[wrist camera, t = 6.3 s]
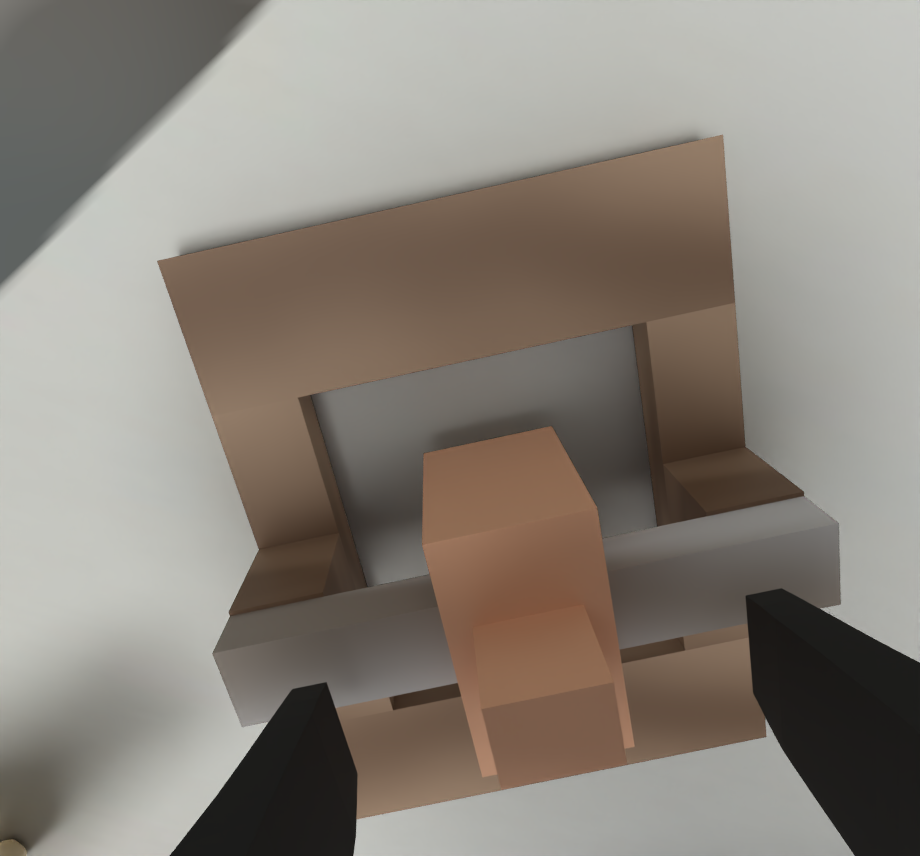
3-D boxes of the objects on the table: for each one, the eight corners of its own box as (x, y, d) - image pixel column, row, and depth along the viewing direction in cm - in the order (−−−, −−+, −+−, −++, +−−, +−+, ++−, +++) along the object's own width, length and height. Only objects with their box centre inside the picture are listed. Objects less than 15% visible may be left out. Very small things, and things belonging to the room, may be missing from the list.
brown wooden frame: (747, 706, 20) (846, 863, 15) (358, 784, 20) (337, 962, 15) (699, 140, 15) (828, 110, 10) (177, 256, 15) (62, 281, 10)
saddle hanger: (584, 615, 17) (670, 841, 11) (469, 638, 17) (492, 876, 11) (551, 425, 15) (631, 570, 9) (423, 453, 15) (421, 615, 9)
